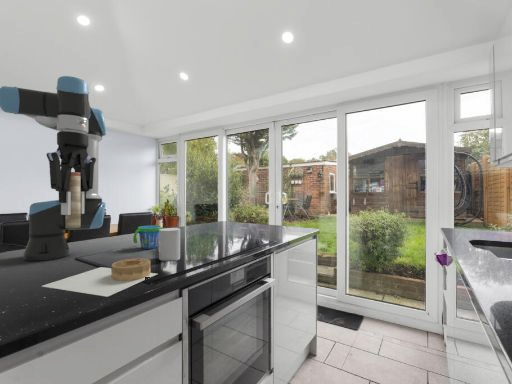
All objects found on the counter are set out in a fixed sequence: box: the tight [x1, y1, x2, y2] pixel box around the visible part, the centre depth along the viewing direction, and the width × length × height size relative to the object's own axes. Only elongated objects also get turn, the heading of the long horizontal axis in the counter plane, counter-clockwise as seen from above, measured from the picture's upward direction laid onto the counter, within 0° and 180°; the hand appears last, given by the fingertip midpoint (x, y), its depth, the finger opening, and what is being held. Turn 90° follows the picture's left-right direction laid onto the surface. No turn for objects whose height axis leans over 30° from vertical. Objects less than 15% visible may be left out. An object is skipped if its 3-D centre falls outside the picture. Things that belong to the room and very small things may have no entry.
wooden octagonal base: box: [110, 258, 152, 281], centre depth 86 cm, size 11×11×4 cm
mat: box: [41, 266, 158, 298], centre depth 82 cm, size 24×20×1 cm
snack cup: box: [132, 224, 164, 250], centre depth 130 cm, size 16×10×10 cm
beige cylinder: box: [65, 171, 81, 228], centre depth 78 cm, size 4×4×16 cm
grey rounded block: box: [158, 227, 181, 262], centre depth 109 cm, size 8×8×12 cm
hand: (73, 213), depth 78 cm, fingers closed on beige cylinder, 3 cm apart
